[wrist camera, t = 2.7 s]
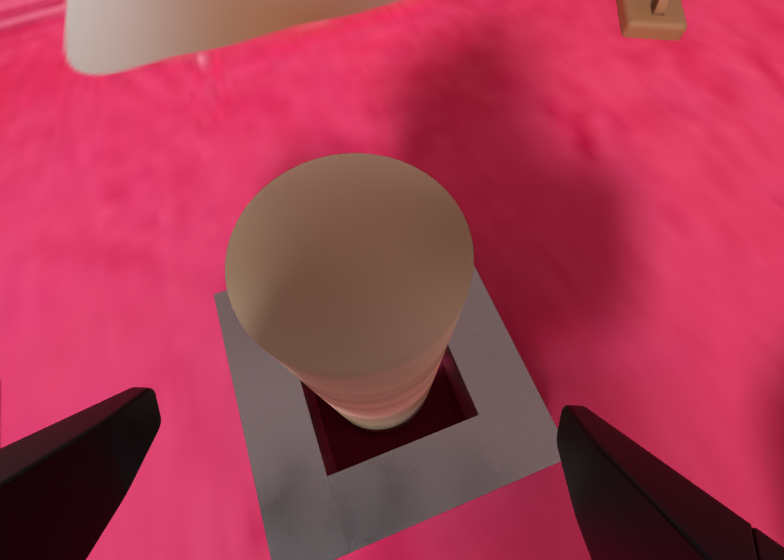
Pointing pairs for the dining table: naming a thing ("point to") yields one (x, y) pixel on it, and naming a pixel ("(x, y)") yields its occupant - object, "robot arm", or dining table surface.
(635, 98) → the dining table surface
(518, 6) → the dining table surface
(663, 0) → the gingerbread man figurine
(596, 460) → the robot arm
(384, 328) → the birch peg
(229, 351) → the socket block
